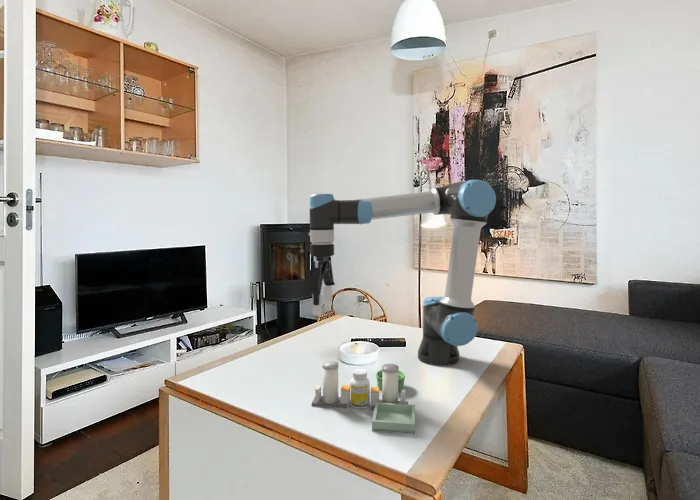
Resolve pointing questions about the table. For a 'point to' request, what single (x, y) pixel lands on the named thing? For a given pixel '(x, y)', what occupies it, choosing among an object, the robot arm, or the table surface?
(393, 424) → the tray
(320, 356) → the table surface
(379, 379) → the ramekin
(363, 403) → the supplement bottle
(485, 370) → the table surface
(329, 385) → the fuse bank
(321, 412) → the table surface
